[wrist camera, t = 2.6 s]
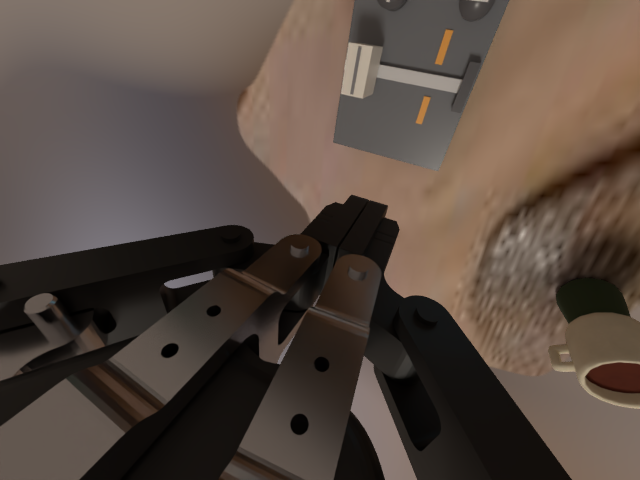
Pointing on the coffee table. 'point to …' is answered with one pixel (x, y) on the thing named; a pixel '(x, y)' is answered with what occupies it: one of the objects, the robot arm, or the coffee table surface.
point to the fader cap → (361, 69)
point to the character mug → (600, 341)
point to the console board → (416, 75)
